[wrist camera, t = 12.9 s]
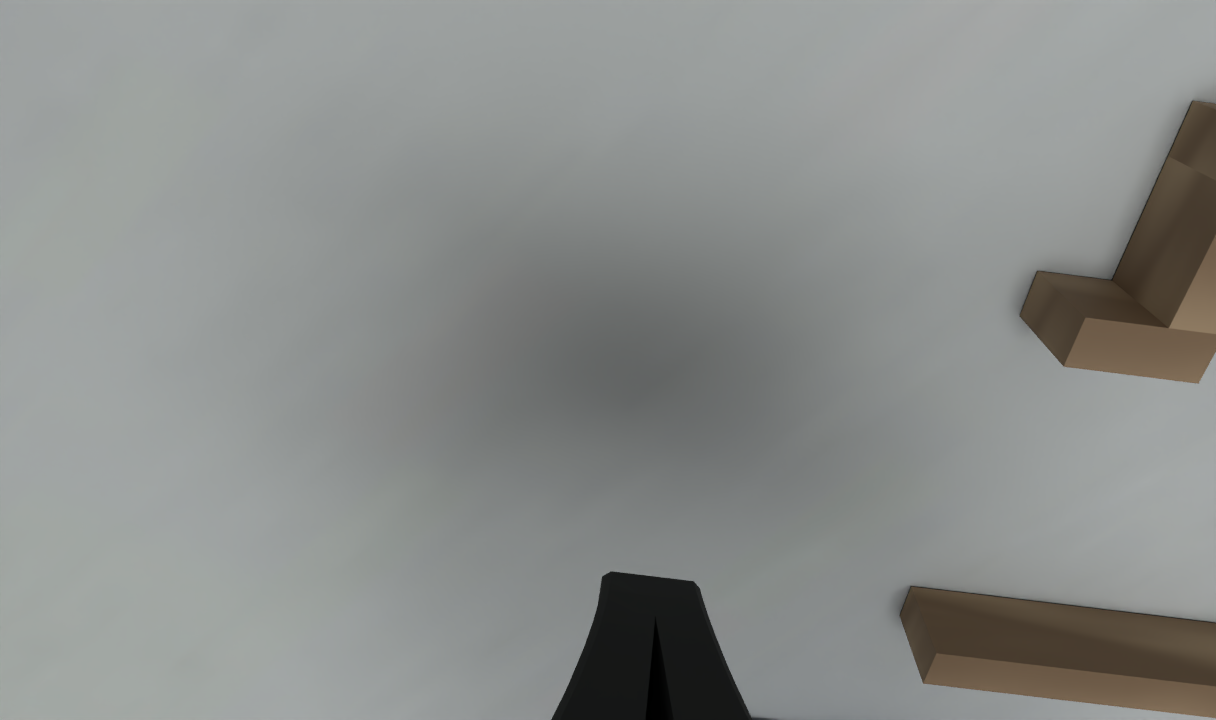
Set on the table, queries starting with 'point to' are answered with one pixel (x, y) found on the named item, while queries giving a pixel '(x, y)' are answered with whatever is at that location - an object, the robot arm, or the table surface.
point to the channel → (1126, 344)
